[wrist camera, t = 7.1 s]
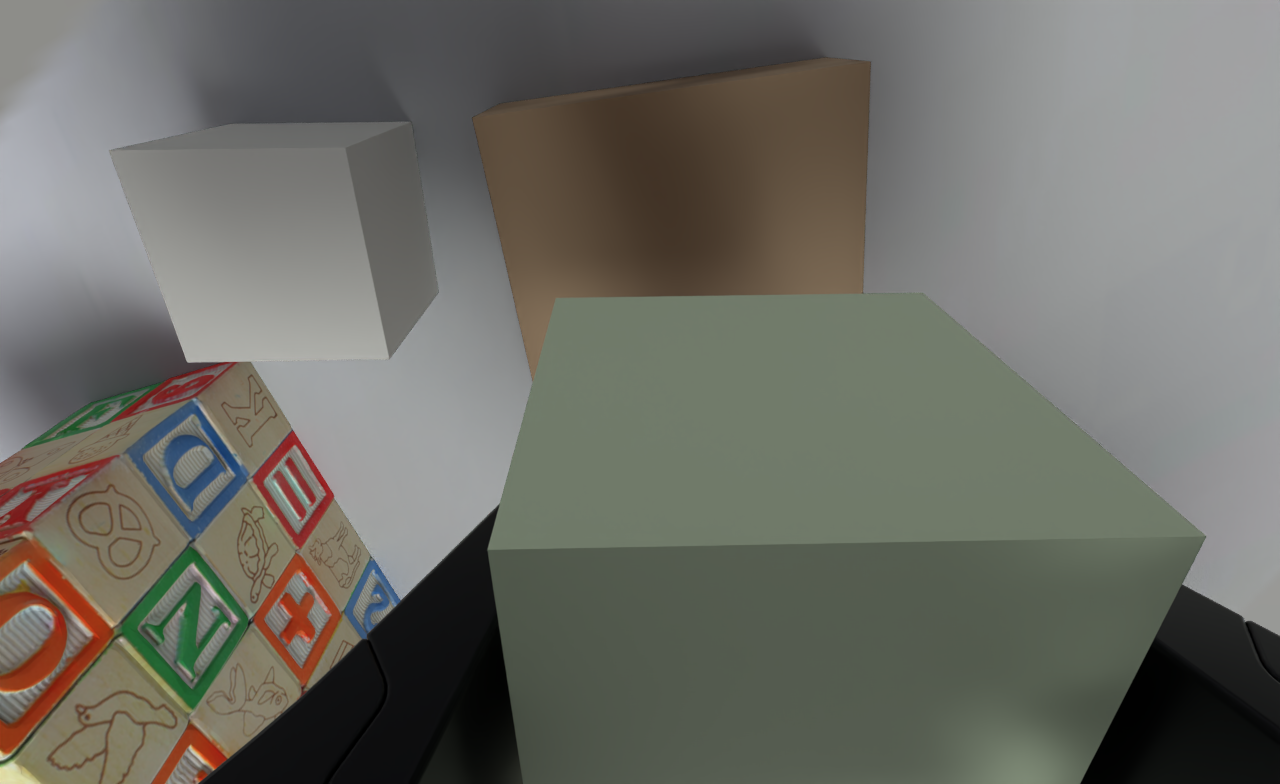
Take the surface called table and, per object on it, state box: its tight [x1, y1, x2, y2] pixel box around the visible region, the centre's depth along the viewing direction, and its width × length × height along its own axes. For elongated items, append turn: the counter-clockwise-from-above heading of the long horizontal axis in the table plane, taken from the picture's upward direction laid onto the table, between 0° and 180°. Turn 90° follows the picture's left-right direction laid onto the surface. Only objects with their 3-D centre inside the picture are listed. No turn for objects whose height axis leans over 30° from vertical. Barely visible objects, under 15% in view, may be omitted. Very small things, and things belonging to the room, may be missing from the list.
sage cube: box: [487, 293, 1206, 784], centre depth 8 cm, size 5×5×5 cm
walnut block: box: [472, 57, 871, 380], centre depth 19 cm, size 9×9×4 cm
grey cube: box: [109, 122, 439, 363], centre depth 17 cm, size 5×5×5 cm
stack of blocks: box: [0, 362, 400, 784], centre depth 22 cm, size 21×6×12 cm, turn 17°
